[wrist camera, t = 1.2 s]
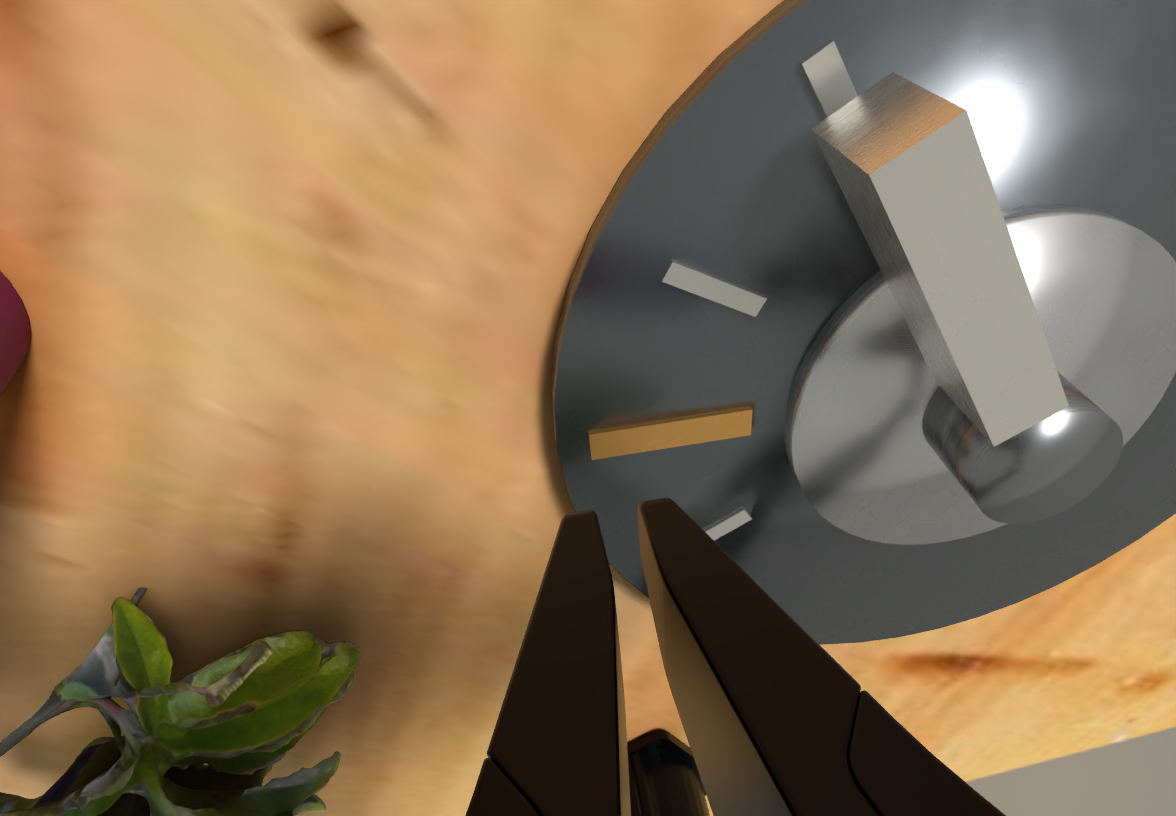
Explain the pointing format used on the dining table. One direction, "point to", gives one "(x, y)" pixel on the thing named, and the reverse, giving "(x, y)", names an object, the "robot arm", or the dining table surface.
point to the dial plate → (844, 290)
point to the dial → (970, 338)
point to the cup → (11, 332)
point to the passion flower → (191, 726)
